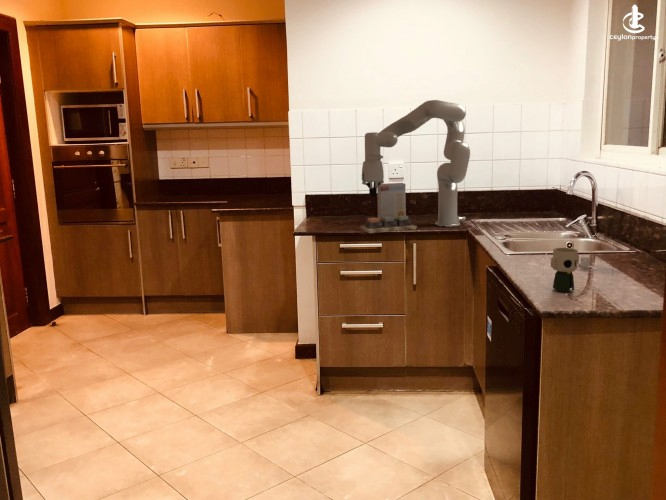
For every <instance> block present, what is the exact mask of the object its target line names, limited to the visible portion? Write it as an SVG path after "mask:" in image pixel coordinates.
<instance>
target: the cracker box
mask: <svg viewBox="0 0 666 500" xmlns="http://www.w3.org/2000/svg"><path fill="white" fill-rule="evenodd" d="M376 197H377V218H378V219H379V221H380V220H382V217H394V219H397V216H402V215H405V216H407V213H406V212H407V211H406V210H407V208H406V207H407V205H406V203H407V201H406V183H405V182H395V183H394V182H393V183H390V182H389V183H383V184H380V185H379V186H378V188H377V194H376Z"/></svg>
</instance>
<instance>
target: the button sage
mask: <svg viewBox="0 0 666 500" xmlns="http://www.w3.org/2000/svg"><path fill="white" fill-rule="evenodd" d="M397 219H398V220H409V219H410V218H409V216H408V215H406V216H405V215H402V216H397Z"/></svg>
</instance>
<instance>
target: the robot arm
mask: <svg viewBox="0 0 666 500" xmlns="http://www.w3.org/2000/svg"><path fill="white" fill-rule="evenodd" d="M466 115H467V111H466V109H465V107H464V106H463V105H462V104H460V103H455V102H449V101H444V100H440V99H439V100H438V99H432V100H426V101H424V102H423V103H421V104H420V105H419V106H417V107H416V108H414V109H413V110H412V111H410V112H409V113H407V114H406V115H404V116H402V117H401V118H399V119H397V120H395V121H394V122H393V123H391V124H389V125H388V126H386V127H385V128H383V129H382V130H381V131H379V132H378V131H377V132H376V131H375V132H374V131H373V132H372V131H371V132H365V134H364V161H362V162H363V163H362V168H361V181H362V182H361V184H362V185H365V186H366V187H368V188H369V189H368V193H369V196H370V197H371V198H373V197H377V188H378V186H379V185H380V184H385V183H384V177H385V176H384V175H385V174H384V166H383V161H382V159H384V156H383V155H382V154H381V148H382V147H383V148H393V147H394V146H396V145H397V143H398V140H399V139H398V138H400V137H401V136H403V135H406V134H410V133H412V132H414V131H416V130H417V129H420V127H422V126H423V125H424V124H426V123H428V122H429V121H431V119H440V120H442V121H443V122H444V124H445V125H446V127H447V131H446V138H445V145H444V149H443V156H444V158H445V159H447V160H449V162H444V163H442V164H440V165H439V166H438V168H437V170H436V177H437V178H436V179H437V185H438V191H437V192H438V193H437V195H438V196H437V197H438V200H437V202H438V203H437V204H438V205H437V207H438V209H437V212H438V213H437V215H438V216H437V221H435V222H434V225H435V226H436V225H437V227H442V226H445V227H444V228H448V227H449V228H451V227H453V226H454V227H458V226H460V225H461V221H463V222H464V221H466V219H467V217H466V216H459V215H458V191H459V190H458V185H457V184H459V183H462V182H463V181H464V180H465V178H466V175H467V171H468V168H469V167H468V166H469V162H470V157H471V149H470V146H469V144H467V143H466V142H464V141H465V140H464V139H465V133H466V132H465V131H466V130H465V127H466V126H465V124H464V119H465V118H466Z"/></svg>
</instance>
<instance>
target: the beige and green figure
mask: <svg viewBox="0 0 666 500" xmlns="http://www.w3.org/2000/svg"><path fill="white" fill-rule="evenodd" d="M579 258H580V255H579V250H578V249H576V248H572V247H556V248H553V250H552V257H550V267H551V268H552V270H554V271H556V272H555V274H554V278H553V284H552V289H553V290H556V291H559V292H564V293H565V292H570V290H571V291H575V280H574V278H575V277H574V273H573V272H575V271H576V270H577V269H578V267H577V265H578V262H579V261H580V259H579Z"/></svg>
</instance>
